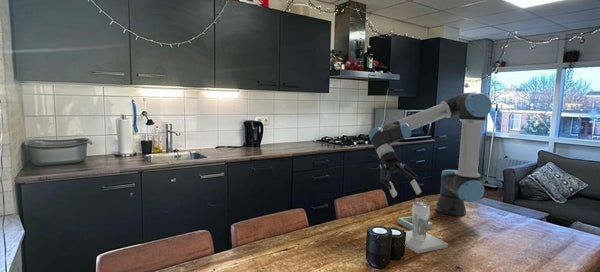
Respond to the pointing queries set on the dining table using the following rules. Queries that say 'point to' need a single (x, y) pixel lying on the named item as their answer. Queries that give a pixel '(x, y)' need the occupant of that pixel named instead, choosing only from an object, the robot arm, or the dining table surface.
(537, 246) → the dining table surface
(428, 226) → the green square frame
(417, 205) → the beer glass
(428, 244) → the tile board
